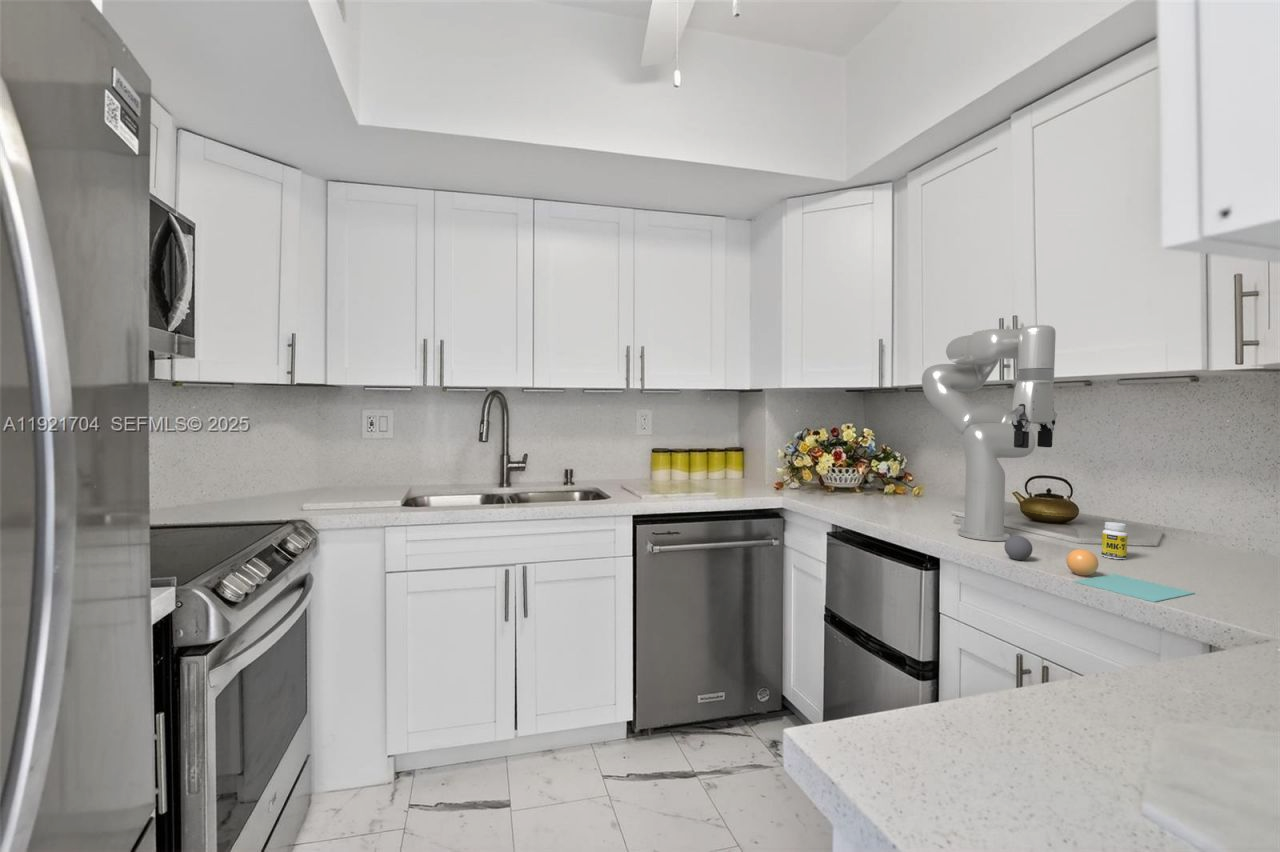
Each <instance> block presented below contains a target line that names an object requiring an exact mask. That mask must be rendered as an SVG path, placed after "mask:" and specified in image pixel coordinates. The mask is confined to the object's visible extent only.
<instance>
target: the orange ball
mask: <svg viewBox="0 0 1280 852" xmlns="http://www.w3.org/2000/svg"><path fill="white" fill-rule="evenodd" d="M1065 559H1066V560H1065V561H1066V566H1067V568H1068V569H1069V570H1070V571H1071V572H1072V573H1074V574H1076V575H1078V576H1083V577H1085V576H1086V577H1087V576H1091V575H1093V574H1094V573H1096V572H1097V570H1098V569H1099V564H1100V563H1099V559H1098V557H1097V556H1096V555H1095V554H1094V553H1093V551H1090V550H1089V549H1088V550H1087V549H1083V548H1077V549H1074V550H1071V551H1070V552H1069V553H1068V554H1067V556H1066V558H1065Z"/></svg>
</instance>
